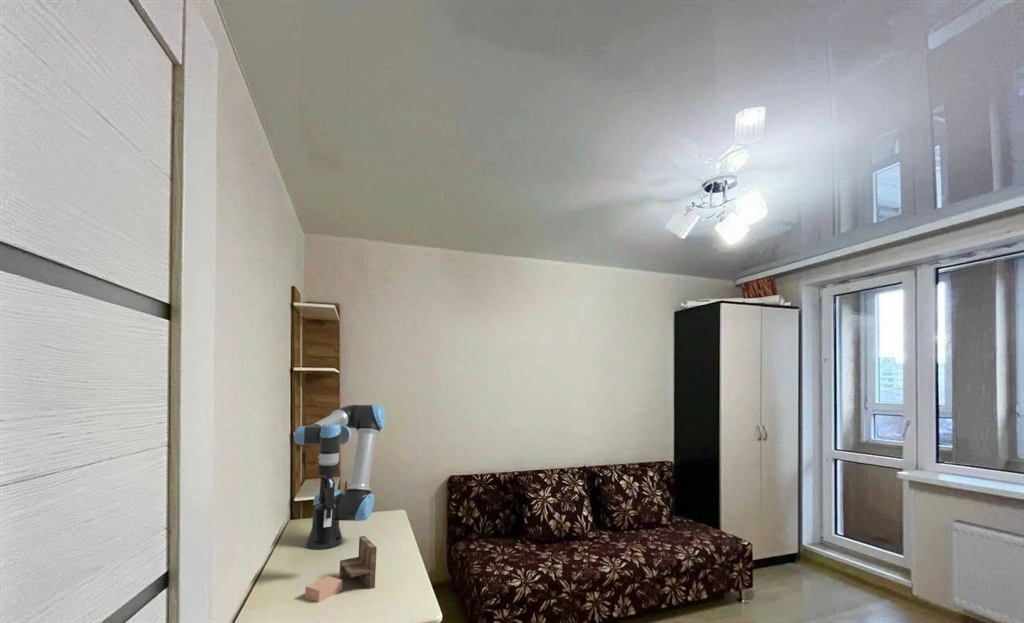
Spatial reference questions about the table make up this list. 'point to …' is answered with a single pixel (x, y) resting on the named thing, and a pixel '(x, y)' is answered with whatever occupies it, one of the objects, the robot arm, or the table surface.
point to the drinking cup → (322, 532)
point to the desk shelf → (361, 564)
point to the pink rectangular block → (323, 589)
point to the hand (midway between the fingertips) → (324, 523)
